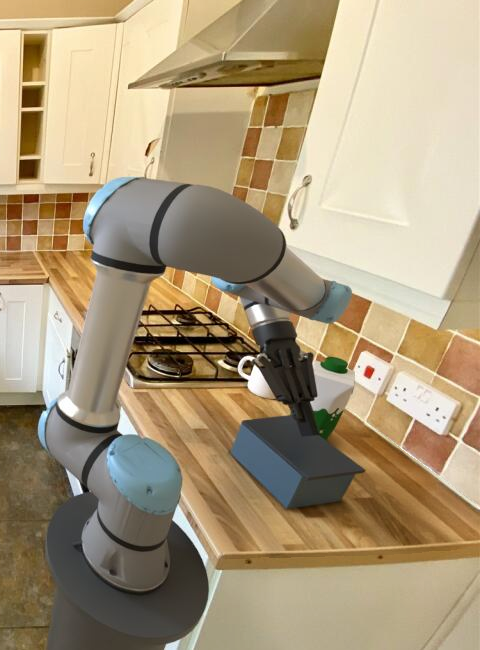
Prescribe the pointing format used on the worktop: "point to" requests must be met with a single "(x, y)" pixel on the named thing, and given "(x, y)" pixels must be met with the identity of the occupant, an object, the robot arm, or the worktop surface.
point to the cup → (256, 380)
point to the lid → (302, 448)
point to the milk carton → (331, 393)
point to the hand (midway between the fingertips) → (310, 435)
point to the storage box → (285, 474)
